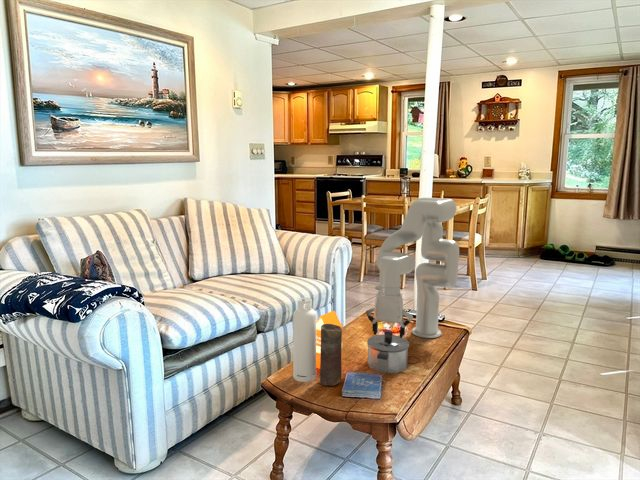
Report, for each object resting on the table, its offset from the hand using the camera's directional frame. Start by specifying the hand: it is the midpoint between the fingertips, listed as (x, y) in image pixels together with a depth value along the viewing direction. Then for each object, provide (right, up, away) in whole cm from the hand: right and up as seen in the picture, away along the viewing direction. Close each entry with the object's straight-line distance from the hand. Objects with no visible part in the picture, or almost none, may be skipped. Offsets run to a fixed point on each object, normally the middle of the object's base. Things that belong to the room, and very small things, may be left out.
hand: (388, 335), depth 175 cm
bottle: (-31, -13, -8) cm, 34 cm away
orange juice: (-23, -12, +2) cm, 26 cm away
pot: (0, -11, +2) cm, 12 cm away
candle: (-22, -14, -13) cm, 29 cm away
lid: (0, -4, 0) cm, 4 cm away
